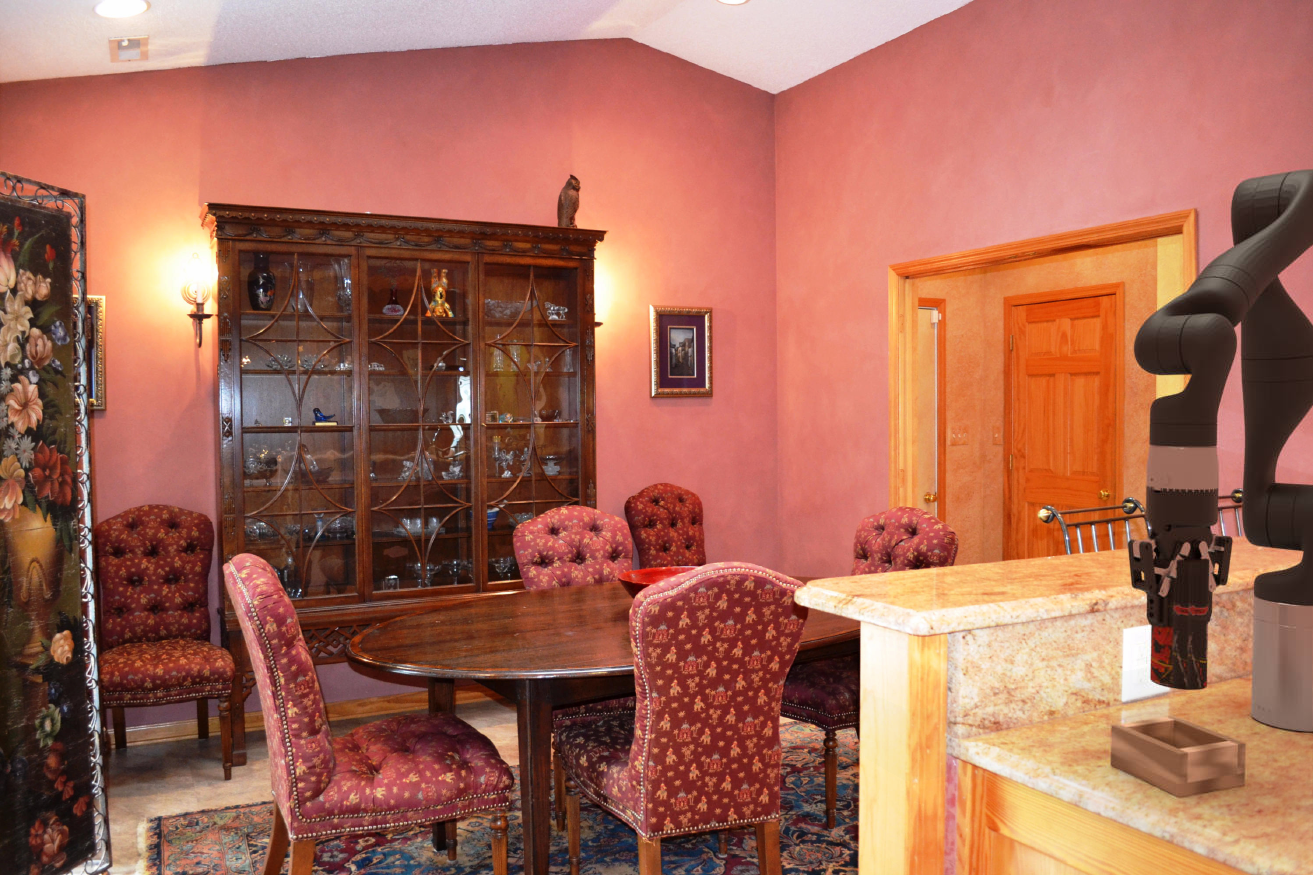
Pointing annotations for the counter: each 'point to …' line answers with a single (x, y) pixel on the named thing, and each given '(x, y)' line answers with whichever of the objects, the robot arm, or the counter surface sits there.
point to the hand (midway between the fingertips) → (1179, 623)
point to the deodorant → (1183, 629)
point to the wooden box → (1178, 755)
